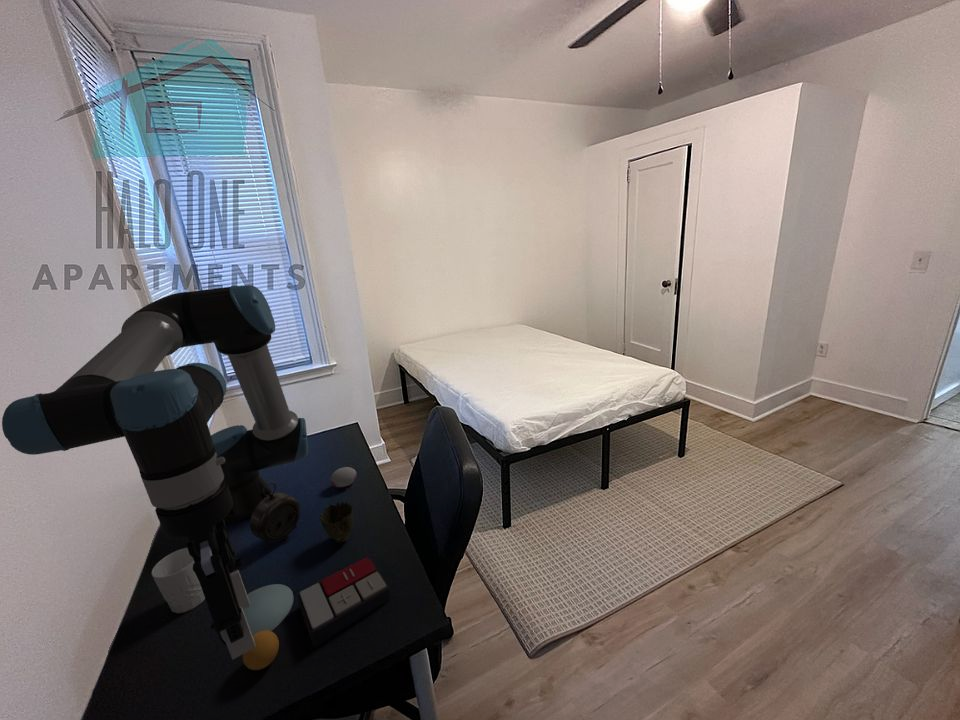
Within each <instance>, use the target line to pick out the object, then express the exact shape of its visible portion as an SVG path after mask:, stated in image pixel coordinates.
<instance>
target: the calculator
mask: <svg viewBox="0 0 960 720" xmlns="http://www.w3.org/2000/svg"><path fill="white" fill-rule="evenodd" d="M296 596H297V601H298V605H299V606H298V607H299V609H300V612H301V615H302V618H303V620H304V623H305V627H306V629H307V632H308V635H309V638H310V640H311V644H312V646H313V647H314V648H317V647H319V646H320V645H322V644H323V643H324V642H326V641H328V640H330V638H333V637H334V636H336V635H337V634H339V632H341V631H342V630H343V629H345V628H347V627H348V626H350V625H352V624H353V623H355V622H357V621H358V620H360V619H362V618H363V617H365V616H366V615H368V614H369V613H371V612H373V611H374V610H376V609H378V608H379V607H381V606H382V605H384V604H385V603H387V602H389V601H391V599H392V593H391V589H390V585H389V583H387V581H386V579H385V578H384V576H383V575H382V573H381V572H380V570H379V569H378V567H377V566H376V565H375V563H374V561H373V560H372V558H371V557H370V556H369V557H368V556H367V557H364V558H363V559H361V560H359V561H357V562H355V563H353V564H351V565H349V566H347V567H345V568H343V569H341V570H339V571H337V572H334V573H333V574H331V575H329V576H326V577H325V578H323V579H321V581H318V582H317V583H315V584H313V585H310V586H309V587H307V588H305V589H303V590H301V591H299V592H298V593H297V594H296Z"/></svg>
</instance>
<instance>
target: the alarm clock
mask: <svg viewBox="0 0 960 720" xmlns="http://www.w3.org/2000/svg"><path fill="white" fill-rule="evenodd" d="M269 484H272V485H273V486H274V489H273V490H272V492H271V493H269V495H265V494H264V489H265V487H266V486H267V485H269ZM276 489H277V485H276V483H275V482H273V481H269V482H267V484H266V485H265V486H264V488H263V495H264V496H267V497H265V498H264V499H263V500H262V501H261V502H260V503H259V504H258V505H257V506H256V508H255V509H254V511H253V513H252V516H251V517H250V518H249V519H250V520H249V528H250V531H251V533H252V534H253V535H254V536H255V537H256V538H258V539H261V540H262V541H263V542H264V546H263V547H262V550H264V551H265V550H266V548H267V546H268V544H269V543H275V542H279V541H281V540H283V539H284V540H285V541H286V542H287V543H289V542H290V538H289V534H291V533H292V532H293V531H294V529H295V528H297V527H298V526H297V524H298V522H299V520H300V517H301V505H300V502H299V501H298V499H296V498H295V497H294V496H292V495H289V494H287V493H284V492H275V491H276Z"/></svg>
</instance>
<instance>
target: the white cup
mask: <svg viewBox="0 0 960 720" xmlns="http://www.w3.org/2000/svg"><path fill="white" fill-rule="evenodd" d="M193 564H194V559H193V557H192V556H190V554H189V551H188V548H187V547H184V548H181V549H177V550H176V551H173V552H171V553H169V554H167V555H166V556H164V557H162V559H161V560H159V561H158V562H157V563H156V564H155V565H154V566H153V568H152V570H151V574H150V575H151V576H152V578H153V580H154V582H155V585H156V586H157V587H158V590H159V593H161V595H162V597H163V598H164V601H166V603H167V605H168V606H169V608H170V610H171V612H172V613H176V614H182V613H186V612H188V611H191V610H194V609H195V608H197V606H199V605H200V604H202V603H203V602H204V601H205V600H206V599H205V596H204V593H203V591H202V588H201V585H200V582H199V580H198V578H197V576H196V574H195V572H194V571H193Z"/></svg>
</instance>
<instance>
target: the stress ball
mask: <svg viewBox="0 0 960 720" xmlns="http://www.w3.org/2000/svg"><path fill="white" fill-rule="evenodd" d="M357 475H358V474H357V471H356V470H355V469H354V468H353V467H349V466H345V467H344V466H343V467H341V468H338V469H336V470H335V471H334V472H333V473H332V474H331V476H330V484H331V485H332V486H333V487H336V488H345V491H346V490H347V491H348V486H350V485H352V484H353V483H354V482H355V481H356V479H357Z"/></svg>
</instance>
